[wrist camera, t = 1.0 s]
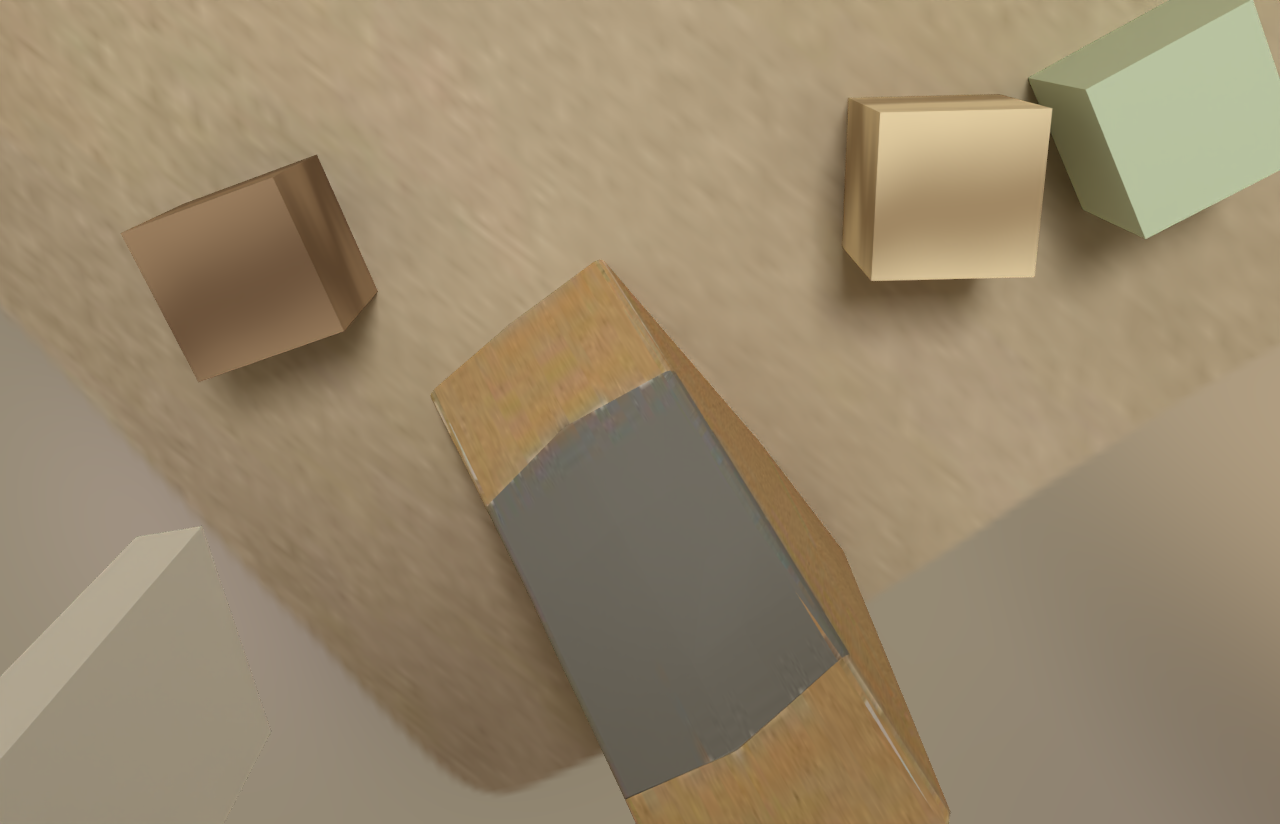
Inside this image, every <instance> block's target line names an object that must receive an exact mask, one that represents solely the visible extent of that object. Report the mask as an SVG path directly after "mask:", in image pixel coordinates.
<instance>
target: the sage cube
mask: <svg viewBox="0 0 1280 824" xmlns="http://www.w3.org/2000/svg"><path fill="white" fill-rule="evenodd" d="M1028 79H1029V82H1030V84H1031V87H1032V89H1033V91H1034V94H1035V96H1036V99H1037V101H1038V103H1039V105H1042V106H1045V107H1049V108H1052V117H1051V126H1050V132H1051V135H1052V137H1053V139H1054V142H1055V144H1056V147H1057V149H1058V151H1059V154H1060V156H1061V159H1062V161H1063V163H1064V166H1065V168H1066V171H1067V173H1068V175H1069V178H1070V180H1071V183H1072V185H1073V187H1074V190H1075V192H1076V195H1077V197H1078V199H1079V202H1080V204H1081V207H1082V209H1083V210H1084V211H1087V212H1089V213H1091V214H1093V215H1095V216H1097V217H1099V218H1101V219H1104V220H1106V221H1108V222H1110V223H1112V224H1114V225H1116V226H1119V227H1121V228H1123V229H1125V230H1127V231H1129V232H1131V233H1134V234H1136V235H1138V236H1140V237H1142V238H1144V239H1147V238H1149V237H1151V236H1153V235H1155V234H1157V233H1159V232H1161V231H1162V230H1164V229H1166V228H1168V227H1170V226H1172V225H1174V224H1176V223H1178V222H1180V221H1182V220H1184V219H1186V218H1188V217H1190V216H1192V215H1194V214H1196V213H1198V212H1199V211H1201V210H1203V209H1205V208H1207V207H1209V206H1211V205H1213V204H1215V203H1217V202H1219V201H1221V200H1223V199H1225V198H1227V197H1229V196H1231V195H1233V194H1234V193H1236V192H1238V191H1240V190H1242V189H1244V188H1246V187H1248V186H1250V185H1252V184H1254V183H1256V182H1258V181H1260V180H1262V179H1264V178H1266V177H1268V176H1270V175H1271V174H1273V173H1275V172H1277V171H1279V170H1280V78H1279V75H1278V73H1277V70H1276V67H1275V64H1274V61H1273V58H1272V55H1271V52H1270V49H1269V46H1268V43H1267V40H1266V37H1265V34H1264V31H1263V28H1262V25H1261V22H1260V19H1259V16H1258V13H1257V11H1256V8H1255V5H1254V2H1253V0H1169V1H1167V2H1165V3H1163V4H1161V5H1160V6H1158V7H1156V8H1154V9H1152V10H1150V11H1149V12H1147V13H1145V14H1143V15H1141V16H1140V17H1138V18H1136V19H1134V20H1132V21H1130V22H1129V23H1127V24H1125V25H1123V26H1121V27H1120V28H1118V29H1116V30H1114V31H1112V32H1110V33H1109V34H1107V35H1105V36H1103V37H1101V38H1100V39H1098V40H1096V41H1094V42H1092V43H1090V44H1089V45H1087V46H1085V47H1083V48H1081V49H1080V50H1078V51H1076V52H1074V53H1072V54H1070V55H1069V56H1067V57H1065V58H1063V59H1061V60H1060V61H1058V62H1056V63H1054V64H1052V65H1050V66H1049V67H1047V68H1045V69H1043V70H1041V71H1039V72H1038V73H1036V74H1034V75H1032V76H1030V77H1029V78H1028Z"/></svg>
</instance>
